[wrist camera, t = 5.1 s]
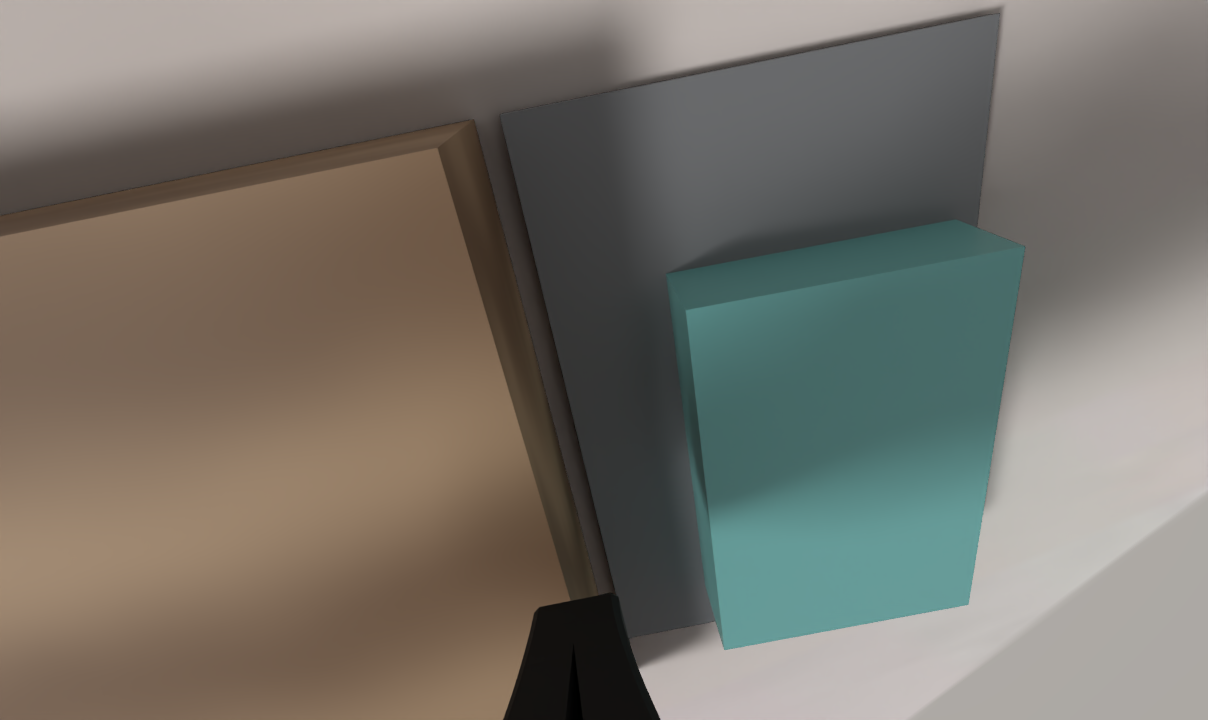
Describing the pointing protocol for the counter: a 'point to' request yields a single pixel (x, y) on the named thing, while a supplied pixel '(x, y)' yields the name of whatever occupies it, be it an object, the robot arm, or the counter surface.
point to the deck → (276, 446)
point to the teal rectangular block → (843, 424)
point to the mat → (721, 240)
